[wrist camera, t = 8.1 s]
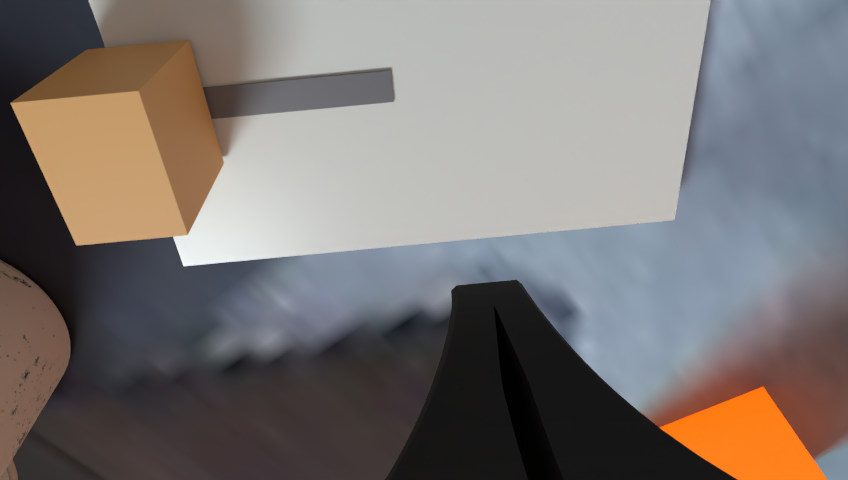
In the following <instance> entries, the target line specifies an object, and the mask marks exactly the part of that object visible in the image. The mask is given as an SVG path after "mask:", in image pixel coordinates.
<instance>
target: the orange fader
mask: <svg viewBox="0 0 848 480" xmlns="http://www.w3.org/2000/svg"><path fill="white" fill-rule="evenodd" d="M11 106H12V108H13V110H14V112H15V114H16V116H17V119H18V121H19V123H20V125H21V127H22V129H23V132H24V134H25V136H26V138H27V140H28V142H29V144H30V147H31V149H32V151H33V153H34V155H35V157H36V160H37V162H38V164H39V166H40V168H41V170H42V173H43V175H44V177H45V179H46V181H47V183H48V185H49V188H50V190H51V192H52V194H53V196H54V198H55V201H56V203H57V205H58V207H59V209H60V211H61V214H62V216H63V218H64V220H65V222H66V224H67V226H68V229H69V231H70V233H71V235H72V237H73V239H74V242H75V244H76V246H78V245H89V244H99V243H110V242H120V241H131V240H142V239H152V238H163V237H174V236H184V235H188V234H189V232H190V230H191V228H192V226H193V224H194V222H195V220H196V218H197V216H198V214H199V212H200V210H201V208H202V206H203V204H204V202H205V200H206V198H207V196H208V194H209V192H210V190H211V188H212V186H213V184H214V182H215V180H216V178H217V176H218V174H219V172H220V170H221V169H222V167H223V165H224V161H223V157H222V154H221V150H220V147H219V143H218V140H217V136H216V133H215V129H214V126H213V122H212V119H211V115H210V111H209V108H208V104H207V101H206V97H205V94H204V90H203V87H202V83H201V80H200V76H199V72H198V69H197V65H196V62H195V58H194V55H193V51H192V48H191V44H190V41H189V40H182V41H171V42H161V43H150V44H139V45H129V46H118V47H108V48H97V49H87V50H86V51H84V52H83V53H81V54H80V55H79V56H77V57H76V58H74V59H73V60H71V61H70V62H68V63H67V64H66V65H64V66H63V67H61V68H60V69H58V70H57V71H56V72H54V73H53V74H51V75H50V76H48V77H47V78H45V79H44V80H43V81H41V82H40V83H38V84H37V85H35V86H34V87H33V88H31V89H30V90H28V91H27V92H25V93H24V94H23V95H21V96H20V97H18V98H17V99H15V100H14V101H12V102H11Z"/></svg>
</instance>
